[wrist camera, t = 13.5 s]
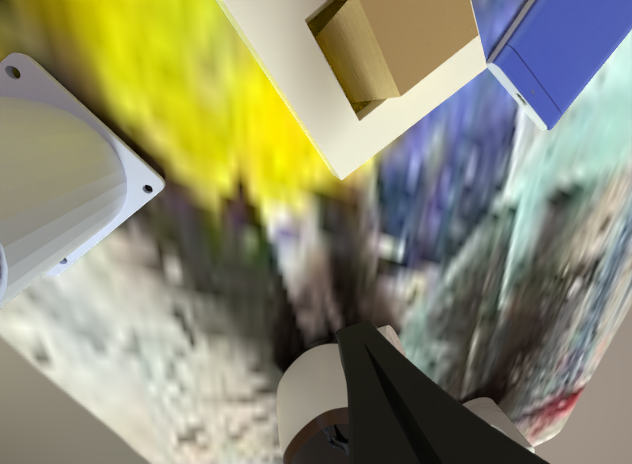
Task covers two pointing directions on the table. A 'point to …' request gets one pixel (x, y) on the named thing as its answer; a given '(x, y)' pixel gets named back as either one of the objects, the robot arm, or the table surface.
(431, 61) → the block
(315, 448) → the spread jar
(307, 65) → the frame
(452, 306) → the table surface
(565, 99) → the hard drive
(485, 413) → the engine component
